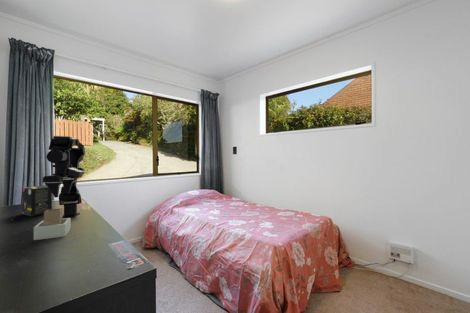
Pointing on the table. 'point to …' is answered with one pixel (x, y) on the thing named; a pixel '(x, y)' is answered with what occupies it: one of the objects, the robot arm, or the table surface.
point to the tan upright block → (53, 217)
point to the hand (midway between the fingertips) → (62, 195)
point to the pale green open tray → (52, 230)
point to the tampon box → (36, 200)
